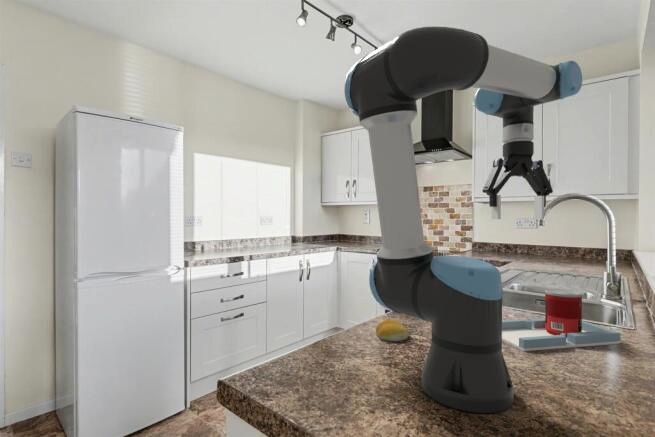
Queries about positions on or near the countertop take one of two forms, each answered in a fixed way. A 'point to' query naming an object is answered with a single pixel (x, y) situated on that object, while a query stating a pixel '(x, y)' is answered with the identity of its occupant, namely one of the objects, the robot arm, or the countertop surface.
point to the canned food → (563, 311)
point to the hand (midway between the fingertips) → (517, 219)
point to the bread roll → (391, 330)
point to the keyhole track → (537, 338)
